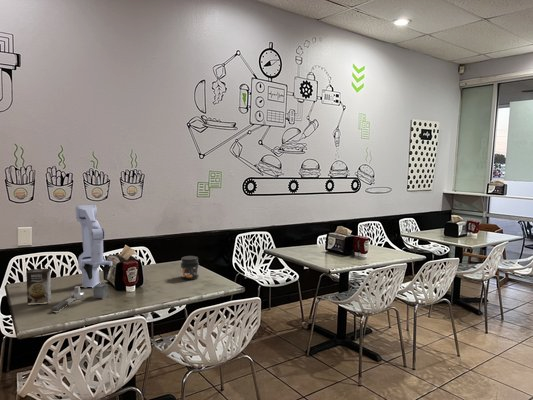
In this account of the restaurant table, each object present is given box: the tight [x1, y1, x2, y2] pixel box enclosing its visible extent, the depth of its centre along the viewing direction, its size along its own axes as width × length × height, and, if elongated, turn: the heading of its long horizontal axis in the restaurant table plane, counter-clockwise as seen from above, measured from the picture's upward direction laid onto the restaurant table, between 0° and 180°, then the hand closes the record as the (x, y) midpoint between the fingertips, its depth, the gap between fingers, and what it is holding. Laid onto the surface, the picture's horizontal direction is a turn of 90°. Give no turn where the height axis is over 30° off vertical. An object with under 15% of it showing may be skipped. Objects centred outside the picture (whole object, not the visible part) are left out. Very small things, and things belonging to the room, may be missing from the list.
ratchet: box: [51, 285, 85, 312], centre depth 196 cm, size 23×6×6 cm, turn 176°
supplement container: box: [180, 255, 200, 281], centre depth 240 cm, size 10×10×12 cm
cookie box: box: [25, 268, 52, 303], centre depth 196 cm, size 9×6×16 cm
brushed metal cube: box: [92, 283, 109, 299], centre depth 206 cm, size 5×5×6 cm
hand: (97, 279), depth 204 cm, fingers open, 7 cm apart
